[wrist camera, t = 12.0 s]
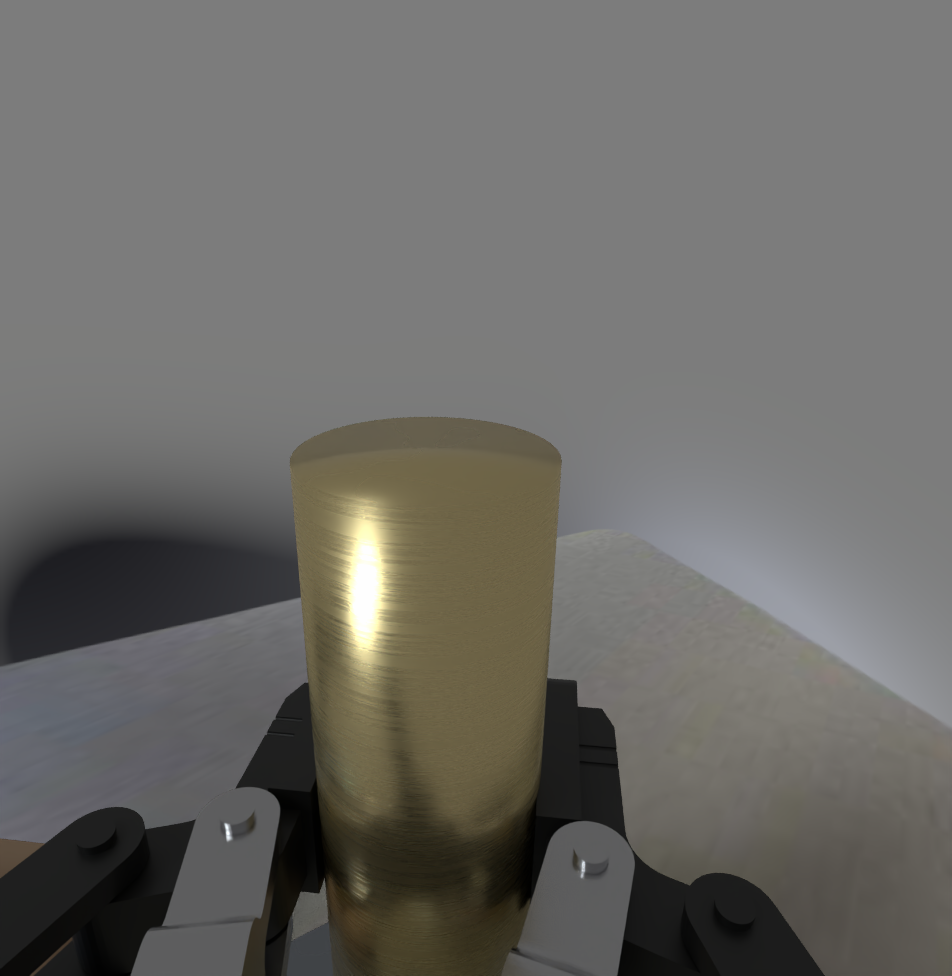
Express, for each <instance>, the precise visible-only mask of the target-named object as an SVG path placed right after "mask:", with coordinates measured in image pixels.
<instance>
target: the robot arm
mask: <svg viewBox="0 0 952 976" xmlns="http://www.w3.org/2000/svg"><path fill="white" fill-rule="evenodd" d="M324 878H325V873H324V861H323V850H322V838H321V826H320V814H319V802H318V790H317V779H316V767H315V755H314V743H313V731H312V720H311V708H310V696H309V684H308V683H304V684H303V685H301V686H300V687H299V688H298V689H297V690H295V691H294V692H293V693H292V694H290V695H289V696H288V697H287V698H286V699H285V701H284V703H283V704H282V706H281V708H280V710H279V712H278V713H277V715H276V719H275V720H274V721H273V722H272V724H271V726H270V728H269V729H268V733H267V735H265V737H264V738H263V740H262V742H261V744H260V746H259V747H258V749H257V751H256V753H255V754H254V756H253V758H252V760H251V762H250V763H249V765H248V767H247V769H246V771H245V772H244V774H243V776H242V778H241V780H240V781H239V783H238V785H237V787H236V788H235V789H233V790H230V791H227V792H225V793H223V794H221V795H219V796H217V797H216V798H214V799H213V800H211V801H210V802H209V803H208V804H207V805H206V806H205V807H204V808H203V809H202V810H201V812H200V813H199V815H198V816H197V819H196V820H193V821H189V822H185V823H180V824H174V825H169V826H163V827H157V828H151V829H145V825H144V822H143V819H142V817H141V816H140V815H139V814H138V813H137V812H135V811H134V810H131V809H128V808H123V807H111V808H105V809H100V810H97V811H94V812H91V813H89V814H87V815H85V816H83V817H81V818H79V819H77V820H76V821H74V822H73V823H72V824H70V825H69V826H68V827H66V828H65V829H64V830H62V831H61V832H60V833H58V834H57V835H56V836H55V837H53V838H52V839H51V840H49V841H48V842H47V843H45V844H44V845H43V846H42V847H40V848H39V849H38V850H36V851H35V852H34V853H32V854H31V855H30V856H29V857H27V858H26V859H25V860H23V861H22V862H21V863H19V864H18V865H17V866H16V867H14V868H13V869H12V870H10V871H9V872H8V873H7V874H5V875H4V876H3V877H1V878H0V976H30V975H31V974H32V973H33V972H34V971H35V970H36V969H37V968H39V967H40V966H41V965H42V964H43V963H44V962H45V961H46V960H47V959H48V958H49V957H51V956H52V955H53V954H54V953H55V952H56V951H57V950H58V949H59V948H60V947H61V946H63V945H64V944H65V943H66V942H67V941H68V940H69V939H70V938H71V937H72V941H71V942H70V943H69V944H68V945H66V946H65V947H64V948H63V949H62V950H61V951H60V952H59V953H58V954H57V955H56V956H54V957H53V958H52V959H51V960H50V961H49V962H48V963H47V964H46V965H45V966H44V967H43V968H41V969H40V970H39V971H38V972H37V973H36V974H35V975H34V976H287V968H288V961H289V953H290V945H291V938H292V930H293V919H292V913H293V910H294V908H295V905H296V902H297V900H298V897H299V894H300V892H301V891H302V892H311V893H319V892H320V889H321V887H322V884H323V881H324ZM501 976H825V975H824V974H823V973H822V971H821V970H820V968H819V967H818V966H817V964H816V963H815V961H814V960H813V958H812V957H811V956H810V954H809V953H808V951H807V950H806V949H805V947H804V946H803V944H802V943H801V941H800V940H799V939H798V937H797V936H796V934H795V933H794V931H793V930H792V929H791V927H790V926H789V924H788V923H787V922H786V920H785V919H784V917H783V916H782V914H781V913H780V912H779V910H778V909H777V907H776V906H775V905H774V903H773V902H772V901H771V899H770V898H769V897H768V896H767V895H766V894H765V893H764V892H763V891H762V890H760V889H759V888H758V887H756V886H755V885H754V884H752V883H750V882H749V881H747V880H745V879H742V878H740V877H737V876H734V875H731V874H725V873H711V874H706V875H703V876H701V877H699V878H697V879H696V880H695V881H694V882H693V883H692V884H691V885H690V886H689V885H687V884H684V883H682V882H679V881H677V880H674V879H672V878H669V877H667V876H665V875H662V874H660V873H658V872H657V871H655V870H653V869H652V868H650V867H649V866H648V865H646V864H645V863H644V862H643V861H642V860H641V859H640V858H639V857H638V856H637V855H636V854H635V852H634V851H633V850H632V848H631V846H630V844H629V842H628V840H627V837H626V832H625V825H624V815H623V806H622V796H621V787H620V777H619V769H618V758H617V752H616V740H615V730H614V726H613V725H612V723H611V722H610V720H609V719H608V717H607V716H606V714H605V713H604V711H603V710H602V709H599V708H588V707H578V704H577V682H576V681H574V680H562V679H550V678H547V688H546V703H545V718H544V733H543V748H542V763H541V777H540V786H539V790H538V793H537V801H536V816H535V831H534V847H533V862H532V878H531V893H530V907H529V911H528V914H527V917H526V920H525V924H524V927H523V930H522V934H521V937H520V940H519V943H518V946H517V948H516V949H515V948H512V949H511V950H510V952H509V954H508V956H507V959H506V962H505V965H504V968H503V971H502V974H501Z"/></svg>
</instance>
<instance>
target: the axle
mask: <svg viewBox="0 0 952 976" xmlns="http://www.w3.org/2000/svg"><path fill="white" fill-rule="evenodd" d="M561 463H562V460H561V455H560V453H559V452H558V450H557V449H556V448H555V447H554V446H553V445H552V444H551V443H549V442H548V441H546V440H545V439H543V438H541V437H539V436H537V435H535V434H532V433H530V432H527V431H524V430H521V429H518V428H515V427H511V426H507V425H503V424H498V423H493V422H487V421H480V420H472V419H462V418H448V417H408V418H393V419H383V420H374V421H368V422H362V423H357V424H352V425H348V426H343V427H340V428H336V429H333V430H330V431H327V432H324V433H322V434H319V435H317V436H314V437H312V438H311V439H309V440H307V441H305V442H304V443H302V444H301V445H300V446H298V447H297V448H296V450H295V451H294V452H293V453H292V456H291V458H290V470H291V483H292V494H293V506H294V519H295V530H296V542H297V553H298V566H299V578H300V589H301V601H302V613H303V625H304V637H305V649H306V660H307V672H308V684H309V696H310V708H311V720H312V731H313V743H314V755H315V767H316V779H317V790H318V802H319V814H320V826H321V838H322V850H323V861H324V873H325V885H326V897H327V909H328V921H329V932H330V944H331V956H332V968H333V976H501V974H502V971H503V968H504V965H505V962H506V959H507V956H508V954H509V952H510V950H511V949H512V948H515V949H516V948H517V946H518V943H519V940H520V937H521V934H522V930H523V927H524V924H525V920H526V917H527V914H528V911H529V907H530V893H531V878H532V862H533V847H534V831H535V816H536V801H537V793H538V790H539V786H540V777H541V763H542V748H543V733H544V718H545V703H546V688H547V673H548V658H549V643H550V628H551V613H552V598H553V583H554V568H555V553H556V538H557V523H558V508H559V492H560V478H561Z"/></svg>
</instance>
